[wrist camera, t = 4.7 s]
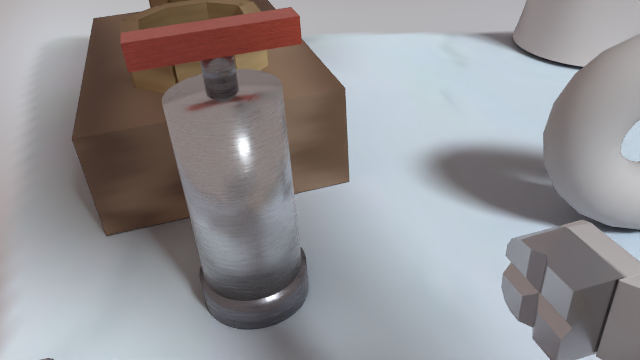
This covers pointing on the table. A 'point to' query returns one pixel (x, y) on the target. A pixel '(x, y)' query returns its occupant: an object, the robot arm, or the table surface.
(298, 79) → the manifold block
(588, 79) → the donut
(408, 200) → the table surface
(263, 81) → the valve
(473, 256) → the table surface
